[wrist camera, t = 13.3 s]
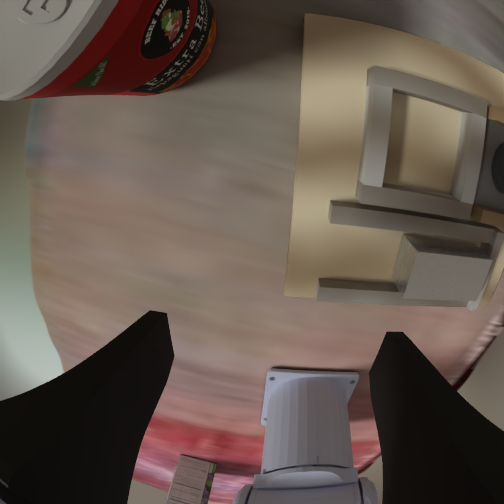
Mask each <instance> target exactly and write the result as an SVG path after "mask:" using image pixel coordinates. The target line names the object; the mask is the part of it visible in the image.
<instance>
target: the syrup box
mask: <svg viewBox="0 0 504 504" xmlns="http://www.w3.org/2000/svg"><path fill="white" fill-rule="evenodd" d="M216 466H217V465H216V464H215V463H211V462H207V461H203V460H199V459H195V458H192V457H188V456H184V455H180V456H179V460H178V463H177V466H176V469H175V472H174V475H173V479H172V482H171V485H170V488H169V491H168V495H167V498H166V501H165V504H208V500H209V495H210V491H211V487H212V482H213V478H214V474H215V470H216Z"/></svg>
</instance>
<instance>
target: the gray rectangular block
mask: <svg viewBox="0 0 504 504" xmlns="http://www.w3.org/2000/svg"><path fill="white" fill-rule="evenodd" d="M492 261H493V260H492V259H491V258H490V257H489V256H488V255H487V254H486V253H485V252H484V251H482V250H481V249H480V248H479V247H478V246H477V245H476V244H474V243H467V242H460V241H453V240H446V239H438V238H431V237H423V236H415V235H407V234H403V236H402V240H401V244H400V248H399V252H398V255H397V259H396V263H395V266H394V270H393V273H392V279H393V281H394V283H395V285H396V287H397V289H398V290H399V292H400V294H401V296H402V298H403V299H427V300H460V301H477V299H478V296H479V294H480V292H481V289H482V287H483V284H484V282H485V279H486V277H487V274H488V272H489V269H490V266H491V263H492Z"/></svg>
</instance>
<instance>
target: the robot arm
mask: <svg viewBox="0 0 504 504" xmlns="http://www.w3.org/2000/svg"><path fill="white" fill-rule="evenodd" d="M173 359H174V351H173V346H172V341H171V335H170V329H169V323H168V317H167V313H163V312H157V311H151V310H150V311H149V312H147V313H146V314H145V315H143V316H142V317H141V318H140V319H138V320H137V321H136V322H135V323H133V324H132V325H131V326H130V327H128V328H127V329H126V330H125V331H123V332H122V333H121V334H119V335H118V336H117V337H116V338H114V339H113V340H112V341H110V342H109V343H108V344H107V345H105V346H104V347H103V348H101V349H100V350H98V351H97V352H96V353H94V354H93V355H91V356H90V357H88V358H87V359H86V360H84V361H83V362H81V363H80V364H78V365H77V366H75V367H74V368H72V369H70V370H69V371H67V372H65V373H63V374H62V375H60V376H58V377H57V378H55V379H53V380H51V381H49V382H47V383H45V384H42V385H40V386H38V387H36V388H34V389H32V390H30V391H27V392H25V393H22V394H20V395H17V396H14V397H12V398H8V399H5V400H2V401H0V504H127V501H128V495H129V490H130V484H131V480H132V476H133V472H134V468H135V464H136V460H137V456H138V453H139V449H140V445H141V442H142V439H143V437H144V434H145V431H146V429H147V426H148V424H149V422H150V420H151V417H152V415H153V413H154V410H155V408H156V406H157V404H158V401H159V399H160V397H161V394H162V392H163V390H164V387H165V385H166V383H167V380H168V377H169V373H170V370H171V366H172V363H173ZM359 377H360V376H359V373H357V372H328V371H305V370H289V369H276V368H272V369H269V370H268V371H267V379H266V387H265V395H264V402H263V410H262V417H261V424H262V425H263V426H266V429H265V439H264V448H263V457H262V466H261V474H255V475H254V481H253V484H247V485H245V486H244V487H243V488H242V489H241V490H240V491H239V492H238V493H237V494H236V496H235V498H234V500H233V503H232V504H378V497H377V491H376V488H375V485H374V483H373V482H371V481H370V480H369V479H368V478H367V477H361V478H358V469H357V468H354V466H353V454H352V443H351V433H350V424H349V415H348V406H347V403H348V401H349V399H350V397H351V395H352V393H353V391H354V389H355V387H356V385H357V382H358V380H359ZM369 377H370V390H371V400H372V405H373V410H374V415H375V420H376V425H377V430H378V436H379V441H380V447H381V453H382V462H383V501H382V504H504V431H502V430H501V429H500V428H498V427H497V426H496V425H494V424H493V423H491V422H490V421H489V420H488V419H486V418H485V417H484V416H483V415H482V414H481V413H479V412H478V411H477V410H476V409H475V408H474V407H473V406H471V405H470V404H469V403H468V402H467V401H466V400H465V399H464V398H463V397H462V396H461V395H460V394H459V393H458V392H457V391H456V390H455V389H454V388H453V387H452V386H451V385H450V384H449V383H448V381H447V380H446V379H445V378H444V377H443V376H442V375H441V374H440V373H439V372H438V370H437V369H436V368H435V367H434V366H433V365H432V364H431V363H430V361H429V360H428V359H427V358H426V357H425V356H424V355H423V353H422V352H421V351H420V350H419V349H418V348H417V347H416V346H415V344H414V343H413V342H412V341H411V340H410V339H409V338H408V337H407V336H406V335H405V334H404V333H403V332H386V335H385V337H384V340H383V342H382V345H381V347H380V349H379V352H378V354H377V356H376V359H375V361H374V363H373V365H372V368H371V370H370V372H369ZM352 380H353V381H352Z"/></svg>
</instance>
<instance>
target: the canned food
mask: <svg viewBox="0 0 504 504" xmlns="http://www.w3.org/2000/svg"><path fill="white" fill-rule="evenodd" d="M216 34H217V21H216V17H215V12H214V10H213V8H212V6H211V4H210V2H209V1H208V0H0V100H19V99H28V98H46V97H58V96H76V95H137V96H147V95H156V94H160V93H163V92H167V91H169V90H171V89H173V88H176V87H178V86H180V85H181V84H183V83H184V82H185V81H187V80H188V79H190V78H191V77H192V76H193V75H195V74H196V73H197V72H198V71H199V70H200V69H201V68H202V66H203V65H204V63H205V62H206V61H207V59H208V57H209V55H210V53H211V51H212V49H213V46H214V42H215V38H216Z"/></svg>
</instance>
